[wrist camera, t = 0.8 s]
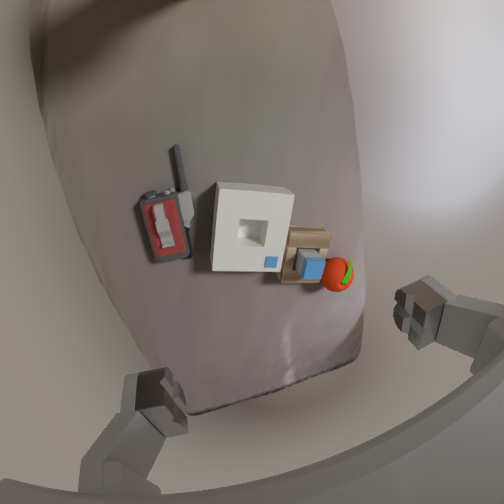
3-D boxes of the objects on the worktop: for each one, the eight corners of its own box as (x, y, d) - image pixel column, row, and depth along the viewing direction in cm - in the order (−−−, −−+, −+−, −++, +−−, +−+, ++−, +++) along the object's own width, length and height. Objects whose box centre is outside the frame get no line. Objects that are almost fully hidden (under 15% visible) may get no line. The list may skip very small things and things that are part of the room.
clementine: (325, 243, 57) (341, 259, 50) (351, 251, 59) (368, 267, 53) (309, 277, 59) (322, 296, 53) (334, 283, 62) (349, 301, 56)
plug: (293, 243, 54) (307, 261, 48) (310, 244, 55) (325, 261, 49) (290, 260, 55) (303, 279, 49) (306, 260, 56) (321, 279, 50)
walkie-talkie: (203, 252, 52) (182, 142, 43) (205, 263, 49) (181, 144, 39) (157, 261, 51) (130, 154, 42) (155, 273, 47) (125, 157, 38)
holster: (283, 224, 53) (291, 233, 49) (322, 227, 55) (331, 235, 51) (275, 272, 57) (280, 283, 54) (311, 272, 59) (319, 282, 56)
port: (216, 181, 47) (219, 189, 42) (285, 187, 50) (295, 195, 45) (209, 257, 53) (212, 271, 48) (272, 258, 56) (280, 272, 51)
